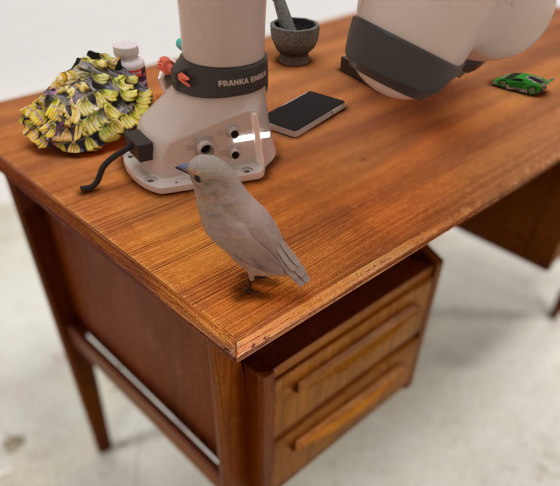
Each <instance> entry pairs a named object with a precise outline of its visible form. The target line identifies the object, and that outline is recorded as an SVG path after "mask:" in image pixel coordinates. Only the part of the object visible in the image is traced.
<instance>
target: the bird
mask: <svg viewBox="0 0 560 486" xmlns="http://www.w3.org/2000/svg"><path fill="white" fill-rule="evenodd" d="M175 168H176V169H178V170H180V171H182V172H185V173H187V174H189V175H190V178H191V180H192V184H193V188H194V189H193V191H194V192H193V193H194V197H195V203H196V207H197V211H198V215H199V218H200V221H201V226H202V228H203V230H204V232H205V234H206V235H207V236H208V237H209V238H210V240H211V241H212V242H213V243H214V244H216V245H217V246H218V247H219V248H220V249H221V250H223V251H224V252H225V254H227V255H228V256H229V257H230V259H231V260H232V261H233V262H234V263H235V264H236V265H238V266H239V267H240V268H242V269H244V270H245V271H246V273H247V274H246V276H248V280H247V281H246V282H247V283H248V284H243V286H244V288H239V289H238V291H243V292H241V293H240V294H239V296H238V298H240V297H241V296H243V295H249V296H251V295H254V294H260V295H263V296H264V294H263V292H261V291H259V290H255V289H254V288H253V287H252V283H253V281H254V280H255V281H260V280H263V279H266V280H269V281H272V279H271V278H270V277H281V278H285V277H289V279H291V280H292V281H293V282H295V284H296V285H297V286H298V287H300V288H302V287H304V286H305V284H309V283H310V281H311V277H310V275H309V274H308V272H307V269H306V267H305V266H304V265H303V264H302V263H301V261H300V257H299V256H297V255H296V253H295V252H294V251H293V249H291V247H290V246H289V245H288V244H287V242H286V240H285V238H284V236H283V234H282V233H281V231H280V229H279V227H278V225H277V224H276V223H277V222H275V219H273V217H272V215H271V213H269V211H268V210H267V209H266V207H265V206H264V205H263V204H262V203H260V202H259V201H258V200H257V199H256V198H254V197H253V195H252V194H251V193H250V192H249V190H247V188H246V187H245V186H244V184H243V182H240V180H239V179H238V177H237V175H236V174H235V172H234V171H233V169H232V168H231V167H230V166H229V165H228V164H227V163H226V162H224V161H223V160H221V159H220V158H218V157H216V156H213V155H208V154H201V155H198V156H196V157H194V158H193V159H192V160H191V161H190V162H188V163H184V164H181V165H178V166H176V167H175Z"/></svg>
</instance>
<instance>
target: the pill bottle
mask: <svg viewBox="0 0 560 486" xmlns="http://www.w3.org/2000/svg"><path fill="white" fill-rule="evenodd" d="M139 49H140V48H139V44H138V43H137V42H135V41H131V40H121V41H117V42H114V43H113V44H112V51H113V55H114V57H120V59H121V65H122V66H123V67H124V68H125V69H126V70H127V71H129V72H130V73H132V74H134V75H136V76H137V77H138V80H139V82H140V83H141V84H142V85H144V86H146V87H149V85H148V78H147V70H146V62H145V60H144V58H143V57H141V56H139V55H140V50H139Z"/></svg>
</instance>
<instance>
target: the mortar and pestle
mask: <svg viewBox="0 0 560 486" xmlns="http://www.w3.org/2000/svg"><path fill="white" fill-rule="evenodd" d="M271 1H272V2H273V6H274V9H275V14H276V17H277V18H276V19H274V20H272V21H270V23H269V31H270V38H271V40H272V42H273V45H274V47H275V49H276V50H277V51H278V53H279V54H278V61H279V64H283V65H286V66H293V67H297V66H305V65H306V64H308V63H309V62H310V55H309V53H310V52H312V51H313V50H314V48H315V47H316V45H317V43H318V41H319V38H320V37H319V36H320V29H321V25H320V24H319V23H318V21H317V20H314V19H311V18H308V17H301V16H300V17H298V16H292V15H291V12H290V9H289V7H288V4H287V1H286V0H271Z"/></svg>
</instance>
